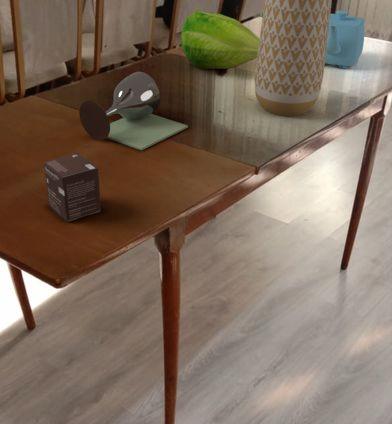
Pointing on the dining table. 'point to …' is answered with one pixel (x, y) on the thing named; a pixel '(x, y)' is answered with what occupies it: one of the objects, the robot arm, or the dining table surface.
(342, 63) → the teapot
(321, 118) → the dining table surface
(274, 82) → the vase
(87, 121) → the wine glass
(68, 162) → the box
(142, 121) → the mat
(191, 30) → the lettuce
